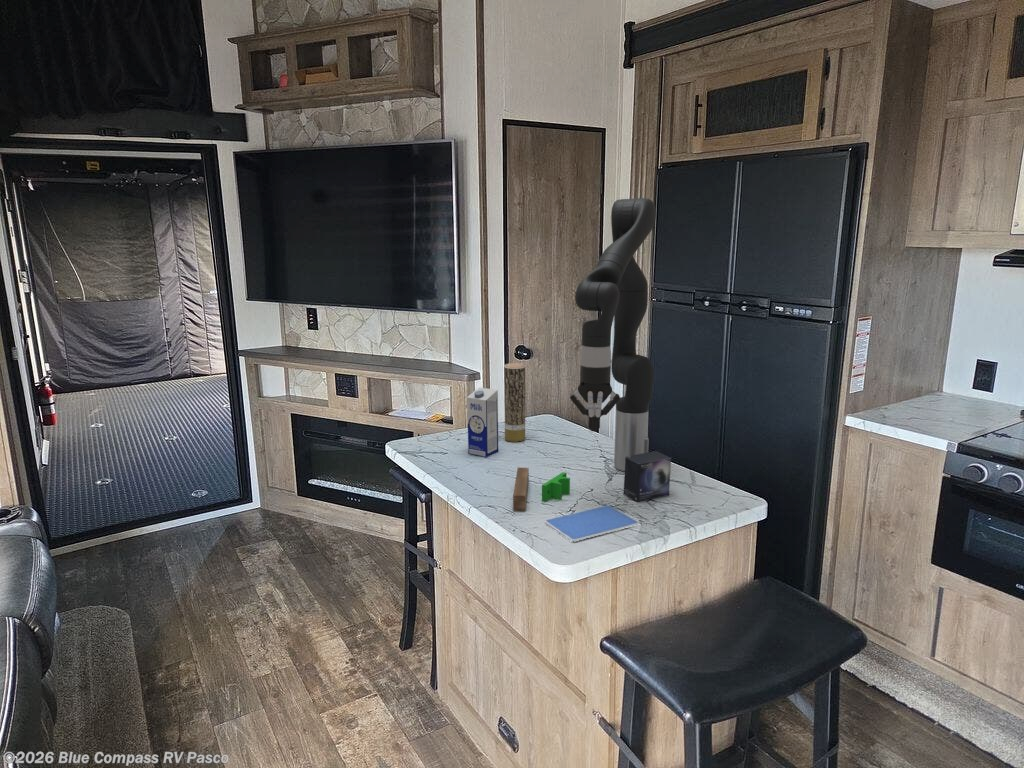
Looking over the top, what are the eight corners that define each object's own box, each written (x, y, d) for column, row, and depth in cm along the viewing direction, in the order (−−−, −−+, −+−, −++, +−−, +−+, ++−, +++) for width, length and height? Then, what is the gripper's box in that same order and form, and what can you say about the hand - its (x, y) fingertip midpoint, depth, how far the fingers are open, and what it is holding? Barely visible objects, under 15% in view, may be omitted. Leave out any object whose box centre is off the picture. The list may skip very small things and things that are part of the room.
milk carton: (498, 451, 211) (498, 389, 207) (486, 457, 205) (485, 393, 201) (480, 448, 215) (479, 386, 210) (467, 453, 209) (466, 390, 205)
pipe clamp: (554, 505, 171) (554, 487, 169) (541, 502, 172) (541, 485, 171) (575, 490, 180) (575, 474, 179) (562, 487, 182) (562, 471, 181)
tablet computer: (608, 508, 169) (608, 503, 169) (641, 527, 158) (641, 522, 158) (542, 525, 160) (542, 520, 159) (572, 546, 149) (572, 540, 149)
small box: (637, 503, 171) (639, 463, 168) (622, 494, 176) (623, 456, 174) (670, 495, 176) (672, 457, 173) (654, 487, 181) (656, 450, 179)
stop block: (528, 481, 186) (528, 467, 185) (525, 510, 166) (525, 495, 165) (517, 481, 186) (517, 467, 185) (513, 510, 166) (513, 495, 166)
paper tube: (528, 438, 225) (528, 364, 219) (520, 443, 219) (519, 367, 213) (510, 435, 228) (509, 362, 222) (501, 441, 222) (500, 366, 216)
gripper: (621, 360, 170) (619, 426, 174) (568, 360, 171) (567, 426, 175) (624, 366, 163) (621, 435, 167) (569, 365, 164) (567, 434, 168)
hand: (593, 430), depth 171 cm, fingers closed
